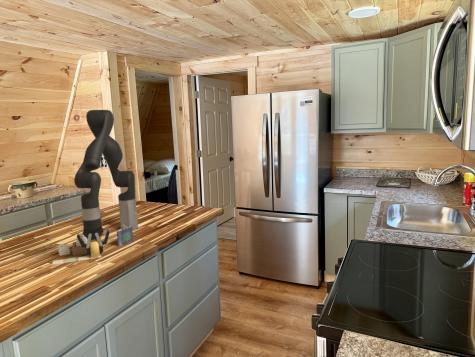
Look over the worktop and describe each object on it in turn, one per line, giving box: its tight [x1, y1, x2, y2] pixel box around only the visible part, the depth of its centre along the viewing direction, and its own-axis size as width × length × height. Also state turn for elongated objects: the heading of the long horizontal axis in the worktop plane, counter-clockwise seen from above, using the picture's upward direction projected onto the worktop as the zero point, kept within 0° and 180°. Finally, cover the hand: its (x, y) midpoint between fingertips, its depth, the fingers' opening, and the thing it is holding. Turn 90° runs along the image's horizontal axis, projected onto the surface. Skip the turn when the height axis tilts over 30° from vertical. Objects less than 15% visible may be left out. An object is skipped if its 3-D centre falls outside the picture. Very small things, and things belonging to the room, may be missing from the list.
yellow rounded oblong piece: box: [90, 240, 100, 259], centre depth 153 cm, size 4×4×7 cm
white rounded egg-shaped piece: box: [75, 236, 88, 246], centre depth 159 cm, size 5×5×6 cm
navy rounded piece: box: [116, 224, 134, 247], centre depth 168 cm, size 9×3×11 cm, turn 151°
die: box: [57, 243, 71, 257], centre depth 157 cm, size 4×4×4 cm
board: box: [51, 241, 102, 266], centre depth 155 cm, size 20×18×5 cm
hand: (95, 254), depth 153 cm, fingers closed on yellow rounded oblong piece, 4 cm apart
